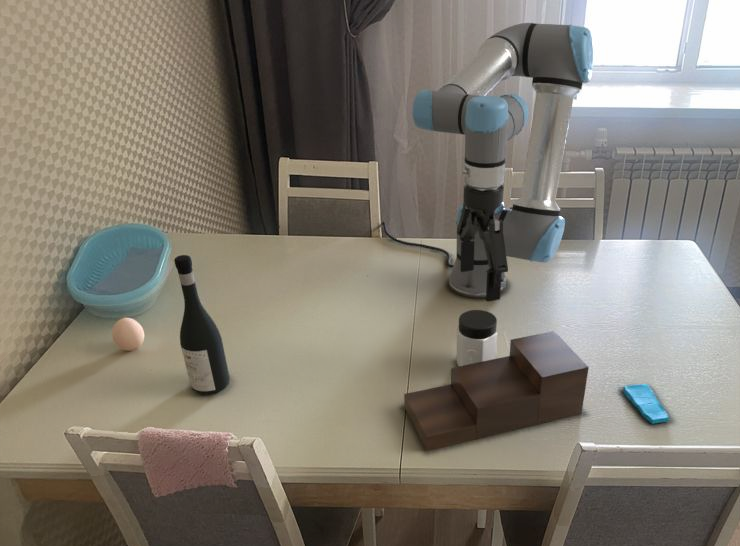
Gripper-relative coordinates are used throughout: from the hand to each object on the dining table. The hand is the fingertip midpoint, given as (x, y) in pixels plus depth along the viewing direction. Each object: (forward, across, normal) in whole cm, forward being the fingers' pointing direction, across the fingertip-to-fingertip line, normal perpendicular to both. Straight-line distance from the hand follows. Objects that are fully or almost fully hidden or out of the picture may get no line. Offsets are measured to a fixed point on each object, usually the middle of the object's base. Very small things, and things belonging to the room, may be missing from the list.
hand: (479, 284), depth 140 cm
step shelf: (+20, +16, -3) cm, 26 cm away
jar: (+20, 0, 0) cm, 21 cm away
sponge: (+20, +25, +27) cm, 42 cm away
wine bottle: (+21, -12, -56) cm, 61 cm away
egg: (+21, -33, -72) cm, 82 cm away
